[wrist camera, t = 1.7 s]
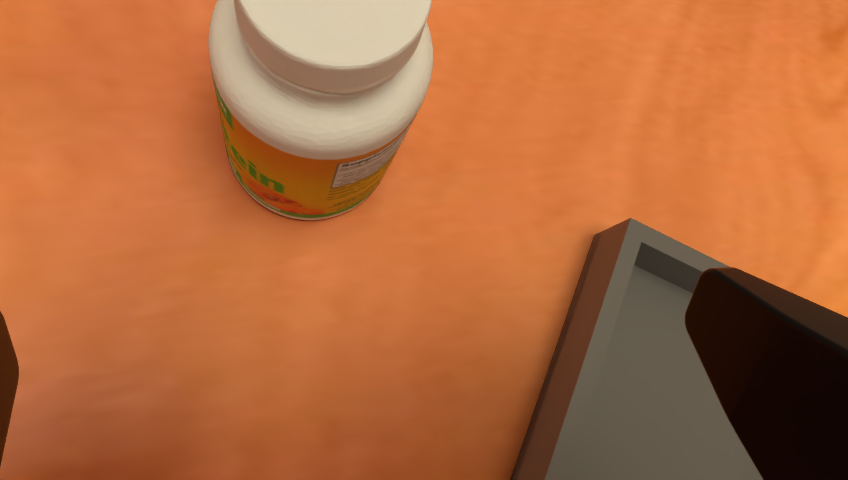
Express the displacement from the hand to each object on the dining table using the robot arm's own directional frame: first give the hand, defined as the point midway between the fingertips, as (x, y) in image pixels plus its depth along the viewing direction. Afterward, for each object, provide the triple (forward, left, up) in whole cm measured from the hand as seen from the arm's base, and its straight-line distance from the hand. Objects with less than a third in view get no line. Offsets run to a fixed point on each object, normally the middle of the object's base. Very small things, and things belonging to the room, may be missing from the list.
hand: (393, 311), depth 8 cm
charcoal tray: (+5, -12, -13) cm, 18 cm away
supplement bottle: (+6, +4, -13) cm, 15 cm away
